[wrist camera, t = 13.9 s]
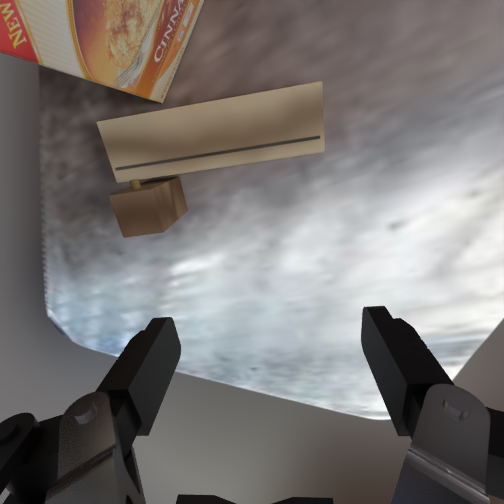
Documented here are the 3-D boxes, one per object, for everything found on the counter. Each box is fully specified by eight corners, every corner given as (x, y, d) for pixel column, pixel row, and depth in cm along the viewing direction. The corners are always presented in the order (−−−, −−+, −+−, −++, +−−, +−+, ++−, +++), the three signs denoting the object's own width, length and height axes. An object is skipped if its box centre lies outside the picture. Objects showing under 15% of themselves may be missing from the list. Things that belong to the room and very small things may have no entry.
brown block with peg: (144, 173, 31) (104, 185, 23) (177, 168, 30) (147, 178, 23) (156, 214, 32) (123, 237, 25) (187, 210, 32) (163, 232, 25)
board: (110, 123, 29) (95, 121, 26) (317, 85, 26) (322, 80, 24) (128, 179, 31) (116, 183, 29) (320, 150, 28) (324, 151, 26)
